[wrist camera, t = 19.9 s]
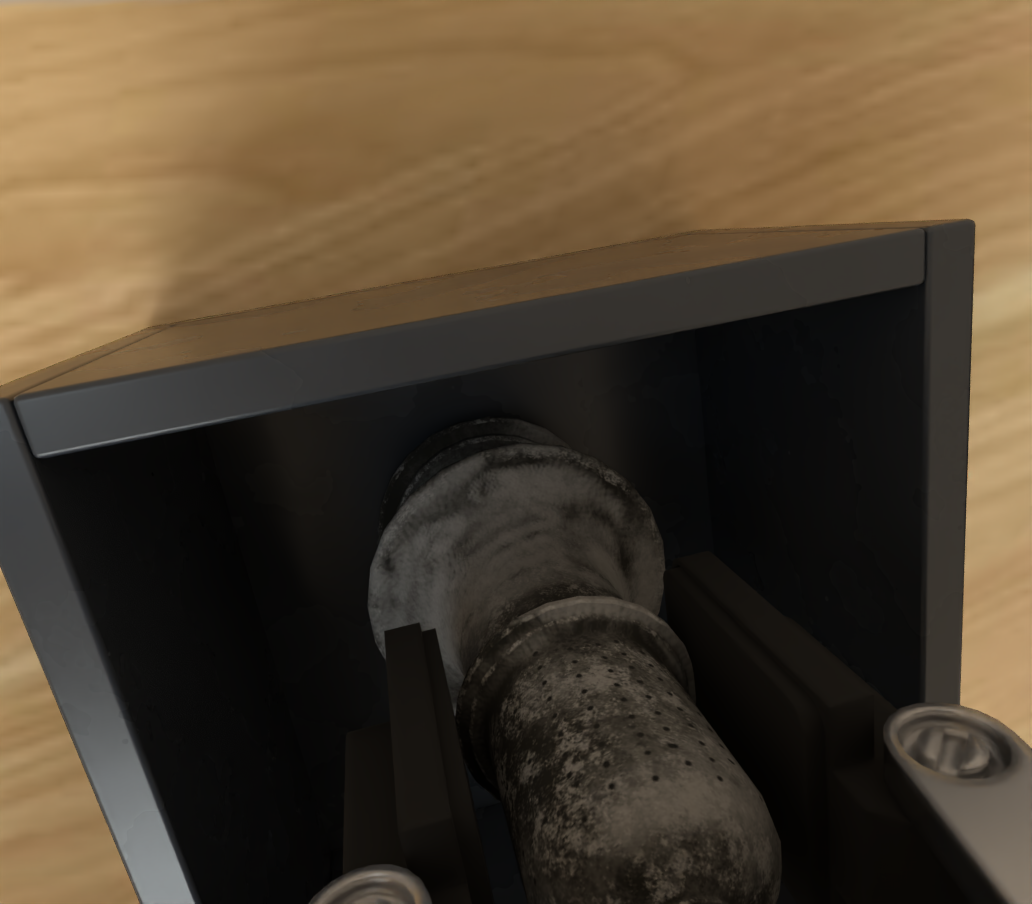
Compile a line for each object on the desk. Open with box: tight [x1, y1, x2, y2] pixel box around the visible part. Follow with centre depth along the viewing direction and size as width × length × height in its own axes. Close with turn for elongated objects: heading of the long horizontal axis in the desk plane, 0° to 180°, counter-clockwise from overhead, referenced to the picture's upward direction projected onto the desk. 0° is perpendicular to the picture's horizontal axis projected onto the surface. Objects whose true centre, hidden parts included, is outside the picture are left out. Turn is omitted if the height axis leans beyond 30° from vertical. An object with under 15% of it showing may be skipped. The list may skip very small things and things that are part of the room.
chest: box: [0, 219, 975, 904], centre depth 16 cm, size 16×14×9 cm
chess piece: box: [367, 416, 782, 904], centre depth 12 cm, size 6×6×12 cm
